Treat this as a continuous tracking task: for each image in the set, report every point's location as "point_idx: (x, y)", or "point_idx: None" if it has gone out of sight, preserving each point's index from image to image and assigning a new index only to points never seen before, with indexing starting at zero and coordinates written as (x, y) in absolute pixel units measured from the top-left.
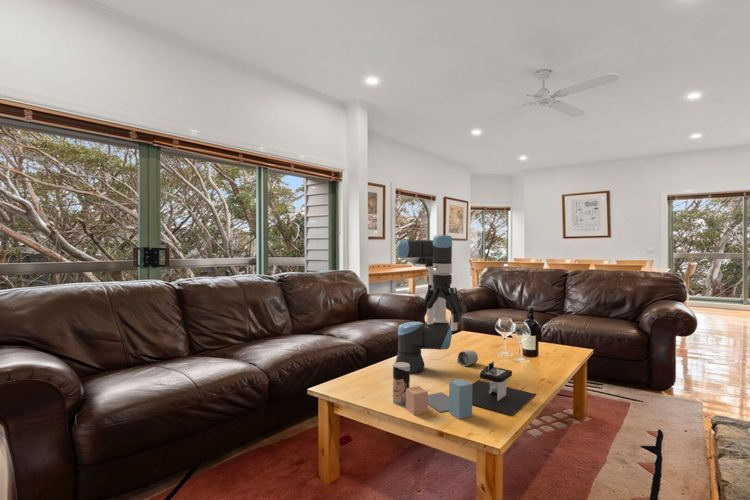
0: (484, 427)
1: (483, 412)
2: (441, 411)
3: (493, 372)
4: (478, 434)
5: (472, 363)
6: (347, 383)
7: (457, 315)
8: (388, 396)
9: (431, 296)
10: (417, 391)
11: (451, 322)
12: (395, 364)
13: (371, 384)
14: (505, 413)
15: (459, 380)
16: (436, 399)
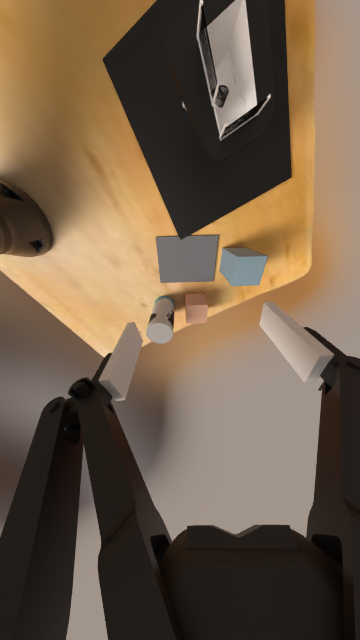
0: (275, 253)
1: (247, 219)
2: (213, 279)
3: (248, 117)
4: (279, 272)
5: None
6: (94, 333)
7: (338, 358)
8: (145, 311)
9: (48, 499)
10: (201, 315)
11: (280, 346)
12: (156, 340)
13: (101, 313)
14: (278, 184)
15: (240, 267)
16: (178, 263)
